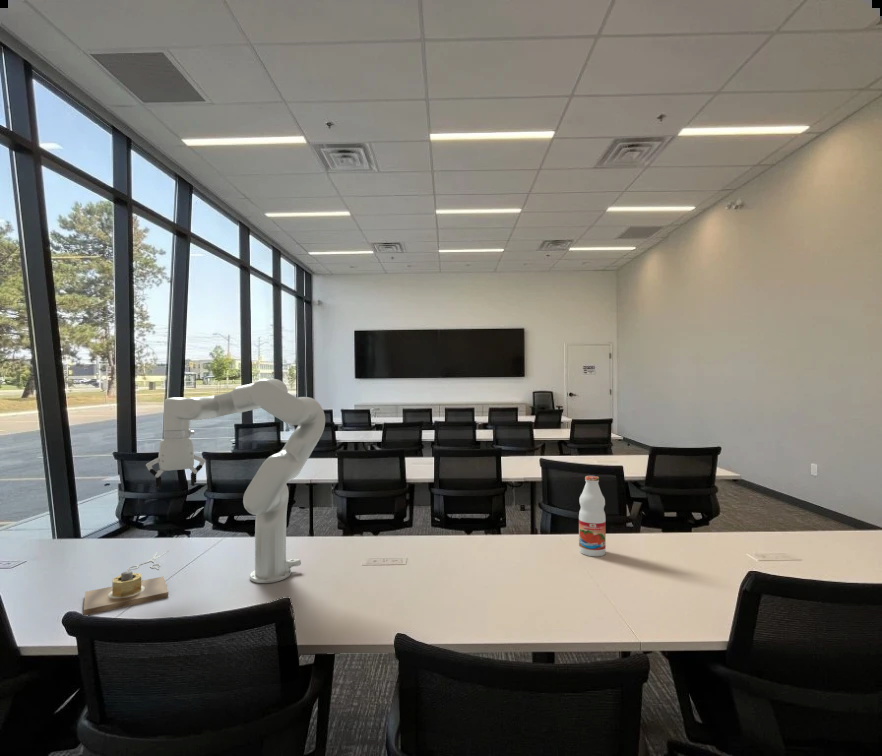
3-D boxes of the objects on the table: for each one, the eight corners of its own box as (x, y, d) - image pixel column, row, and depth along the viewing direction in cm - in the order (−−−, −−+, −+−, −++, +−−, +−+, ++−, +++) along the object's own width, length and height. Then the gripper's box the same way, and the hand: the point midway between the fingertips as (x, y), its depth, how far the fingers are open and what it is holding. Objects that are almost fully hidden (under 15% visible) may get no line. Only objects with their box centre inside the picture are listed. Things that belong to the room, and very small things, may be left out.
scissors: (123, 571, 162) (148, 550, 182) (123, 573, 162) (148, 552, 182) (158, 569, 164) (178, 548, 184) (158, 571, 164) (178, 550, 184)
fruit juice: (606, 550, 184) (605, 475, 184) (605, 558, 175) (605, 479, 175) (579, 547, 187) (579, 473, 187) (577, 555, 178) (577, 478, 178)
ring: (139, 584, 148) (140, 571, 148) (141, 592, 142) (141, 578, 142) (112, 590, 144) (112, 576, 144) (112, 598, 138) (112, 584, 138)
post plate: (163, 581, 155) (163, 558, 155) (168, 597, 143) (168, 573, 143) (85, 596, 143) (85, 572, 143) (83, 615, 132) (83, 589, 132)
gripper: (203, 432, 169) (203, 482, 169) (145, 435, 160) (144, 488, 159) (207, 434, 163) (207, 485, 163) (146, 437, 153) (146, 492, 153)
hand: (176, 487), depth 161 cm, fingers open, 9 cm apart
